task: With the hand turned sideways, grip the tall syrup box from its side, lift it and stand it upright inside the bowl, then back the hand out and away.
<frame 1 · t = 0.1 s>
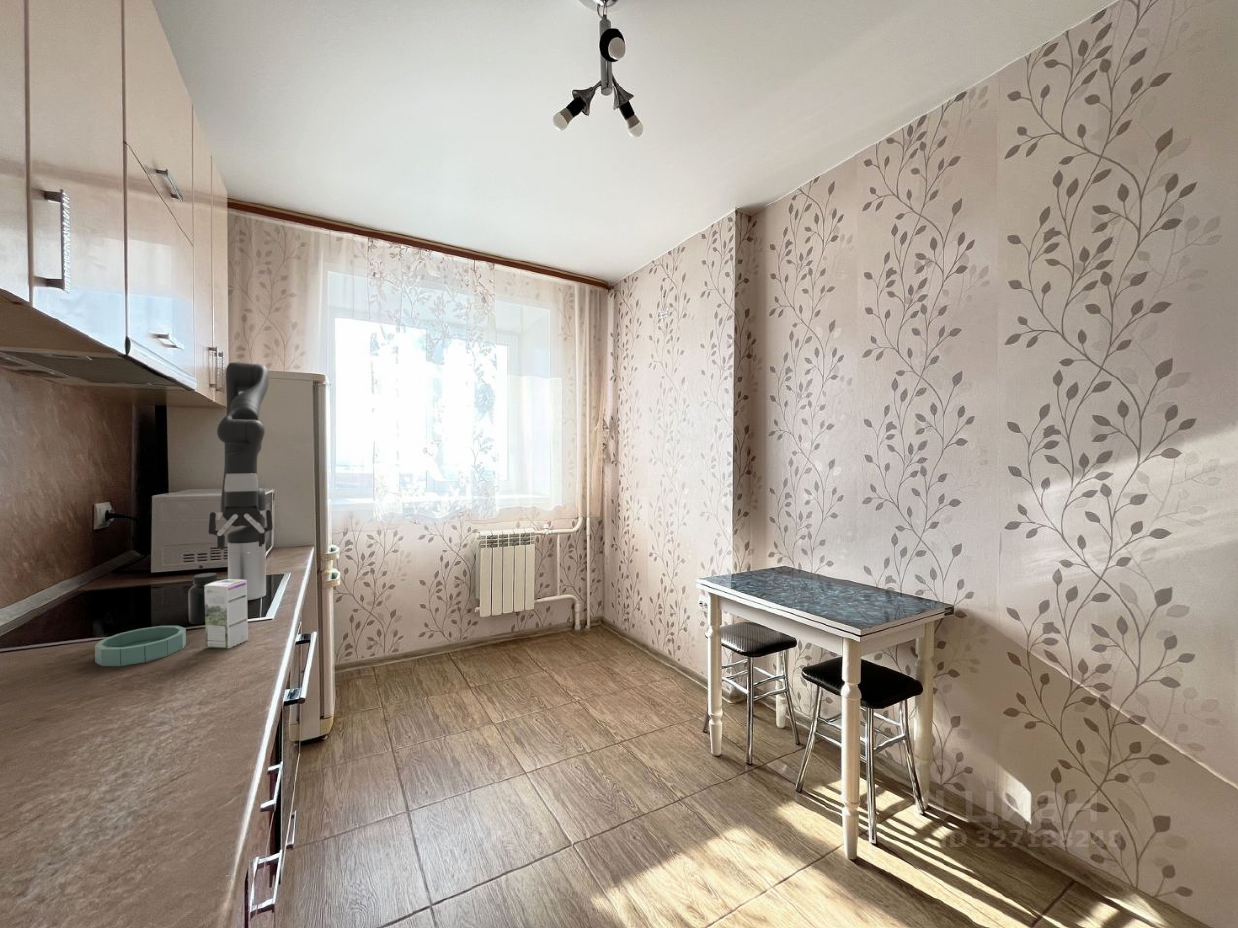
hand: (241, 547, 140), 17 cm above the counter, tool pointing down, fingers open, 8 cm apart
bowl: (142, 652, 110), on the counter
supplement bottle: (205, 621, 131), on the counter
syrup box: (227, 644, 115), on the counter
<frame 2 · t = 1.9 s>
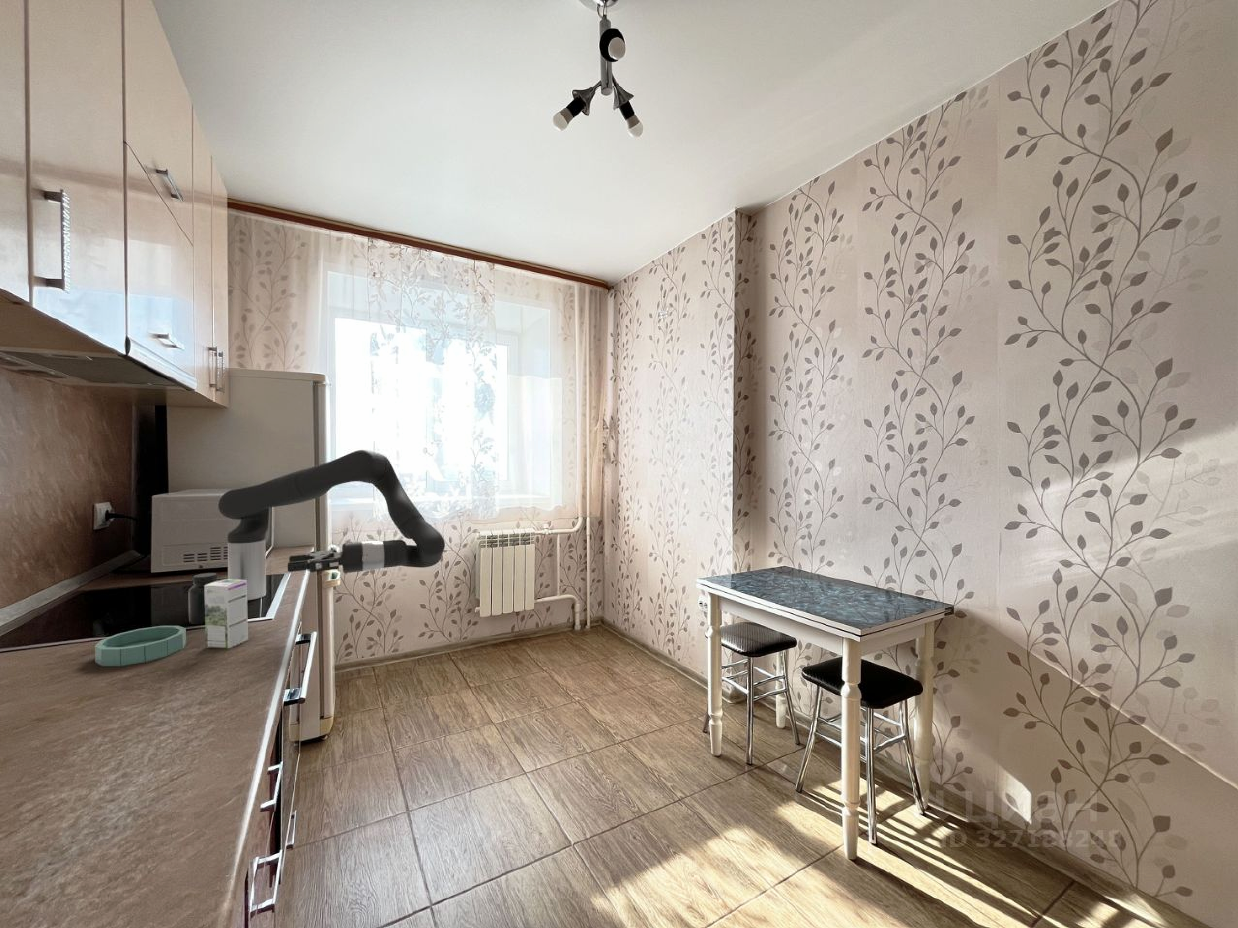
hand: (288, 563, 121), 17 cm above the counter, tool horizontal, fingers open, 8 cm apart
nothing on the counter moved.
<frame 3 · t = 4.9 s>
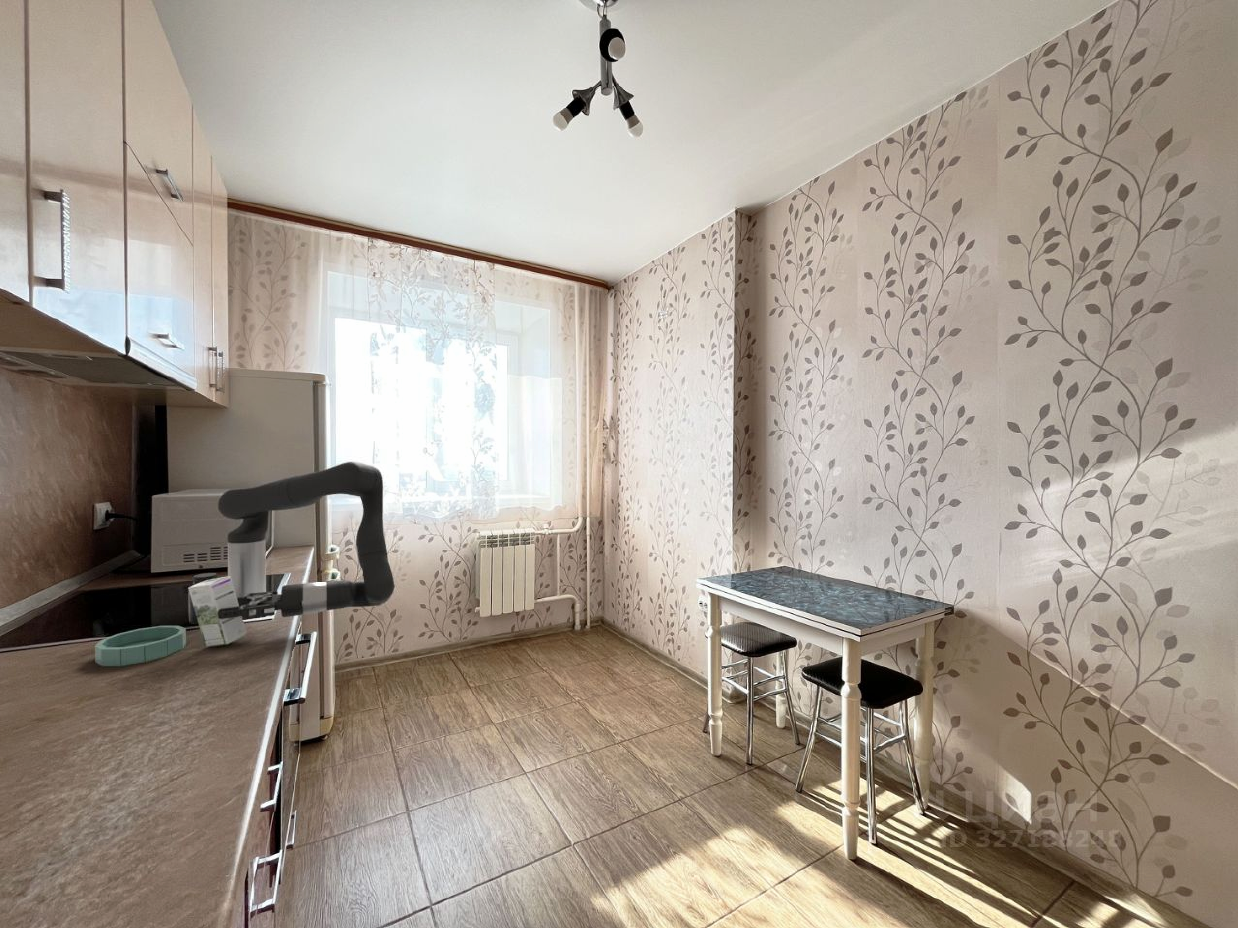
hand: (221, 608, 115), 8 cm above the counter, tool horizontal, fingers open, 8 cm apart
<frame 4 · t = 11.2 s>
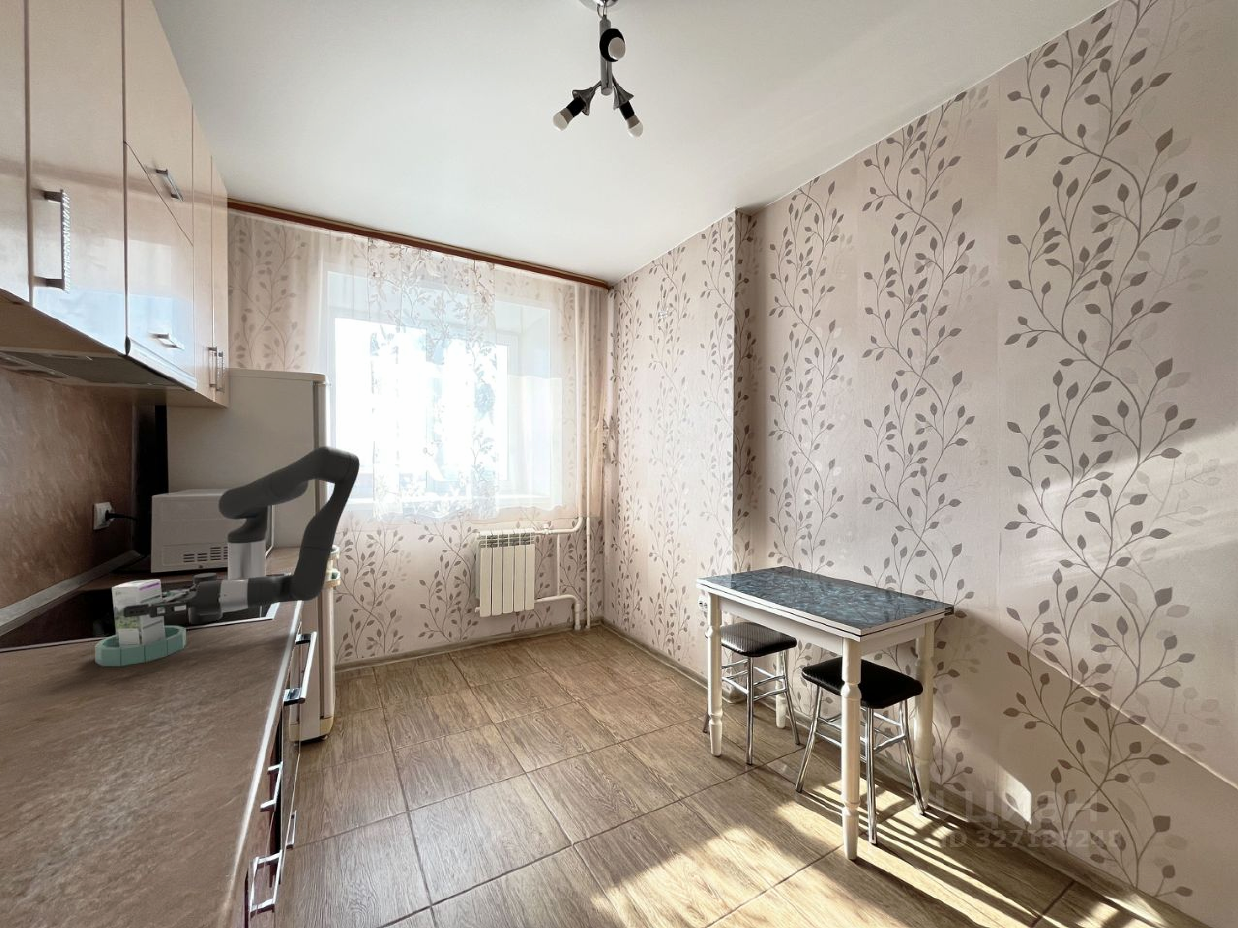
hand: (130, 606, 109), 10 cm above the counter, tool horizontal, fingers open, 8 cm apart
syrup box: (142, 648, 110), point 1 cm above the counter, touching bowl, gripper
everything else where it was.
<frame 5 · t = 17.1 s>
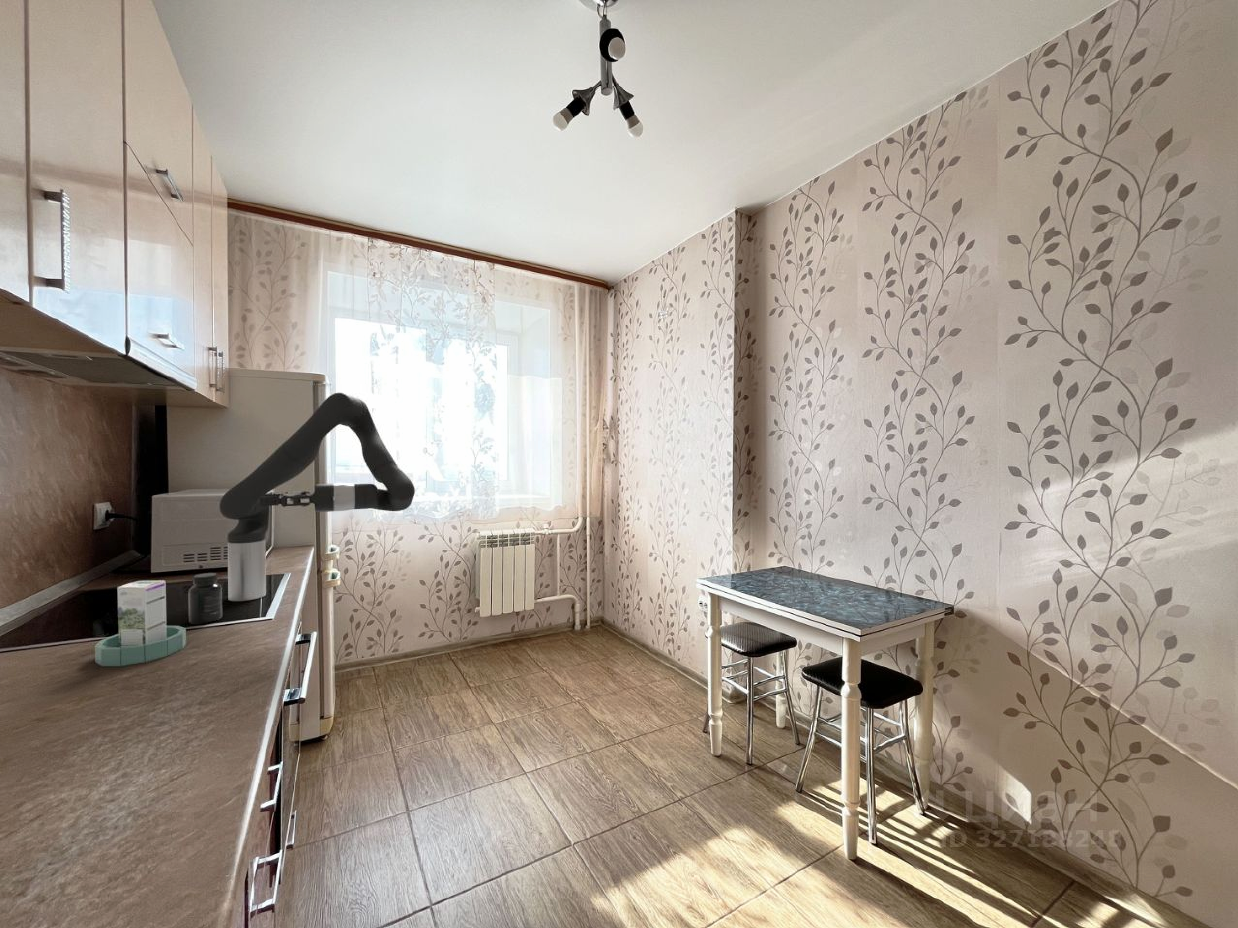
hand: (261, 500, 127), 32 cm above the counter, tool horizontal, fingers open, 8 cm apart
syrup box: (143, 649, 110), point 1 cm above the counter, touching bowl
everything else where it was.
at the end: syrup box 0.4 cm off-centre on the bowl, point 0.8 cm above the bowl's base; syrup box tilted 0°; the gripper is holding nothing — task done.
